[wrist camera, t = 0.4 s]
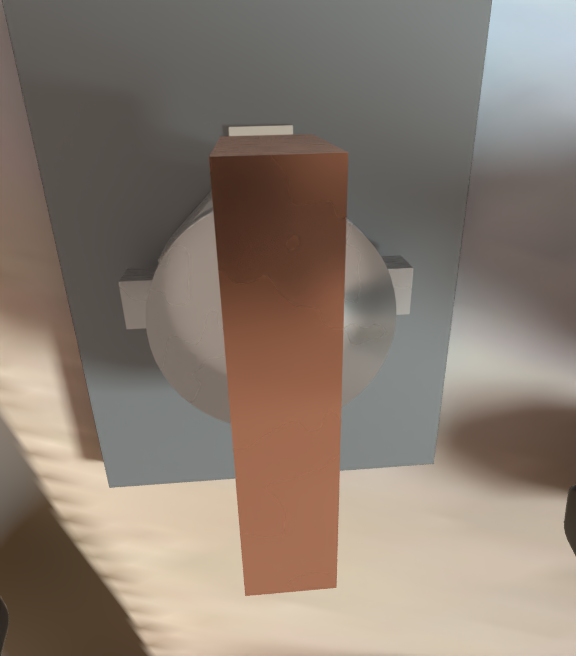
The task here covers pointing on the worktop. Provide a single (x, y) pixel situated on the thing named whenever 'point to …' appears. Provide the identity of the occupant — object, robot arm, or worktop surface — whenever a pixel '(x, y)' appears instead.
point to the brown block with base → (274, 337)
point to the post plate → (195, 184)
